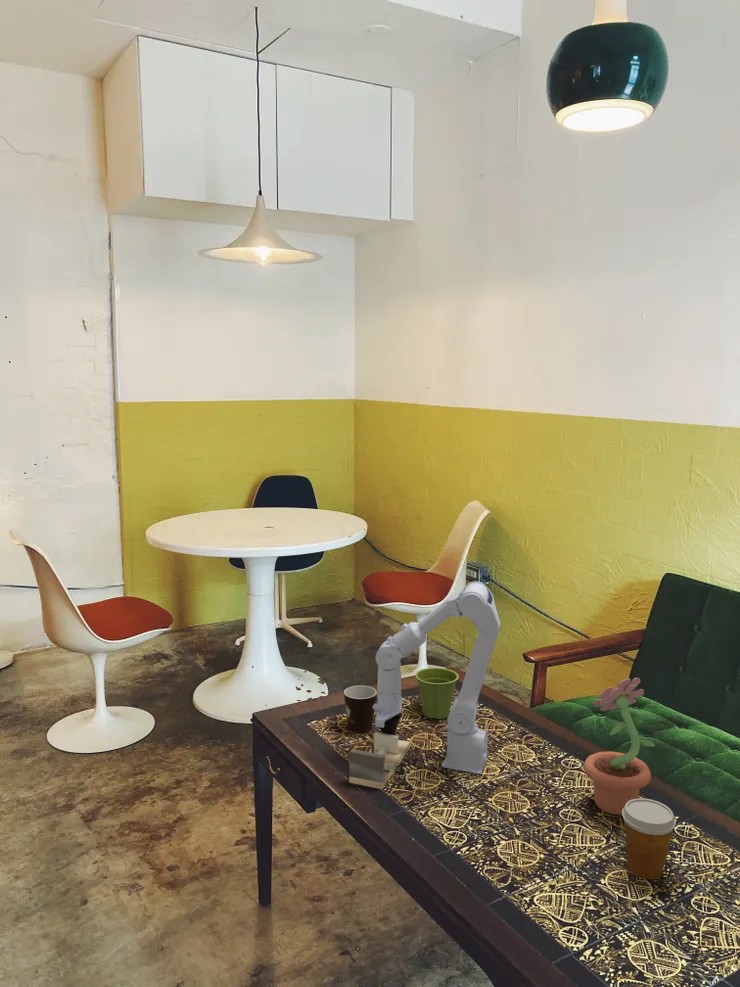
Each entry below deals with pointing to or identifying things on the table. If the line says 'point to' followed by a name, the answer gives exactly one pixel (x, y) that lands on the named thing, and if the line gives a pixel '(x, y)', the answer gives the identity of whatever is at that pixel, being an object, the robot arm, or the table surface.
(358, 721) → the coffee mug
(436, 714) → the plant pot
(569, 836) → the table surface
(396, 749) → the white t-shaped block
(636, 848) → the disposable coffee cup
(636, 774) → the decorative flower
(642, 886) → the table surface
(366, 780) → the beige l-shaped stand
